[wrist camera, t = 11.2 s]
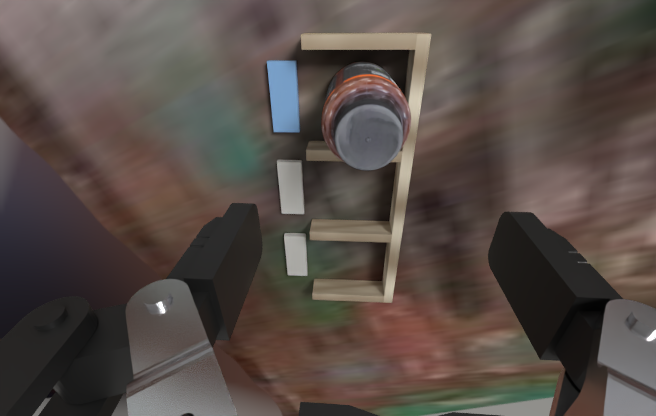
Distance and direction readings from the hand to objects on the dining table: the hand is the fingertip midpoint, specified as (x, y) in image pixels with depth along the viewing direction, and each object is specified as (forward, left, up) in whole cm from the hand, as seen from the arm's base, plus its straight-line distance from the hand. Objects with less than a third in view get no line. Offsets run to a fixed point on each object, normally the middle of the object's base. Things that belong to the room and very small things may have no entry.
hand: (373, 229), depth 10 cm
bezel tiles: (+9, -7, -20) cm, 23 cm away
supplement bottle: (0, 0, -20) cm, 20 cm away
